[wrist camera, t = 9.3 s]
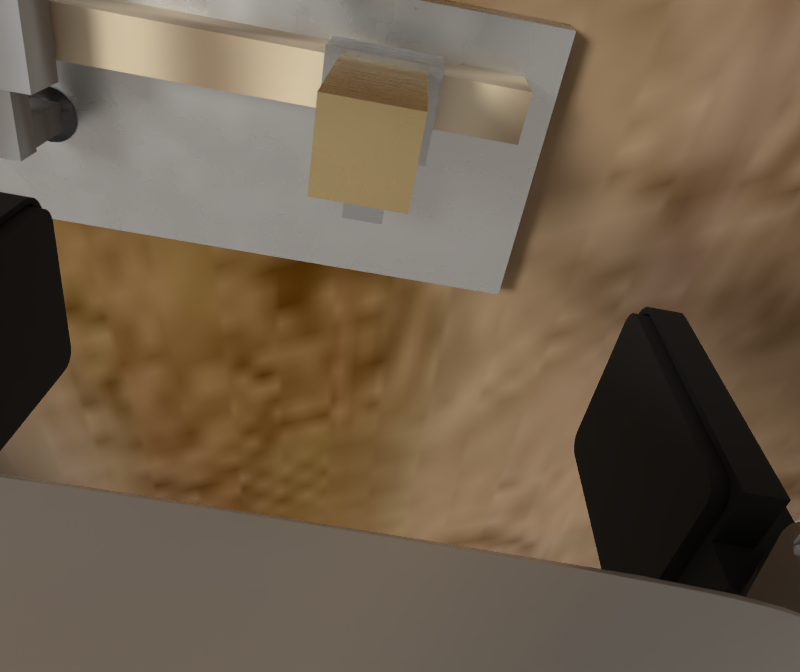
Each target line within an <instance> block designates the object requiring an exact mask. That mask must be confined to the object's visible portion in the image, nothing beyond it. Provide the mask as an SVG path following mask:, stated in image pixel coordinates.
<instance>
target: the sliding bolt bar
mask: <svg viewBox="0 0 800 672" xmlns="http://www.w3.org/2000/svg"><path fill="white" fill-rule="evenodd" d="M328 41H329V40H327V39H322V38H316V37H311V36H306V35H301V34H295V33H290V32H285V31H280V30H274V29H269V28H264V27H259V26H253V25H248V24H243V23H238V22H232V21H227V20H222V19H217V18H211V17H206V16H201V15H196V14H190V13H185V12H180V11H175V10H169V9H164V8H159V7H154V6H148V5H143V4H138V3H133V2H127V1H122V0H0V158H3V159H9V160H15V161H20V162H21V161H23V160H24V159H26V158H27V157H29V156H31V155H32V154H34V153H35V152H37V149H36V148H37V147H38V146H40V145H42V144H43V143H45V142H46V141H48V140H50V139H51V138H53V137H54V136H56V135H58V134H59V133H61V132H63V131H64V129H63V121H62V113H61V104H60V102H54V101H48V100H43V99H37V98H32V97H31V98H29V95H33V94H35V93H37V92H39V91H41V90H43V89H45V88H47V87H49V86H51V85H53V84H55V83H57V82H58V74H57V66H56V60H59V61H64V62H70V63H75V64H81V65H86V66H91V67H97V68H102V69H108V70H113V71H119V72H124V73H129V74H135V75H140V76H146V77H151V78H157V79H162V80H167V81H173V82H178V83H184V84H189V85H195V86H200V87H205V88H211V89H216V90H222V91H227V92H233V93H238V94H243V95H249V96H254V97H260V98H265V99H271V100H276V101H281V102H287V103H292V104H298V105H303V106H309V107H314V108H316V101H317V91H318V90H319V88H320V86H321V84H322V74H323V64H324V53H325V45H326V44H327V43H328ZM531 96H532V91H531V89H530V87H529V85H528V83H527V81H526V79H525V77H521V76H516V75H510V74H505V73H500V72H495V71H489V70H484V69H479V68H474V67H468V66H463V65H458V64H453V63H447V62H444V73H443V79H442V84H441V89H440V94H439V99H438V104H437V109H436V114H435V119H434V124H433V129H434V130H439V131H444V132H450V133H455V134H461V135H466V136H472V137H477V138H482V139H488V140H493V141H499V142H504V143H510V144H515V145H518V143H519V140H520V136H521V132H522V129H523V125H524V121H525V118H526V114H527V110H528V107H529V103H530V99H531Z"/></svg>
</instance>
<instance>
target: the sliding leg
mask: <svg viewBox="0 0 800 672" xmlns="http://www.w3.org/2000/svg"><path fill="white" fill-rule="evenodd" d="M443 73H444V56H439V55H434V54H429V53H424V52H418V51H413V50H408V49H403V48H397V47H392V46H387V45H382V44H376V43H371V42H366V41H361V40H355V39H350V38H345V37H340V36H335V35H333V36H332V37H331V39H330V40H329V41H328V43H327V44H326V45H325V53H324V64H323V74H322V84H321V86H320V88H319V90H318V91H317V101H316V111H315V122H314V133H313V143H312V154H311V164H310V175H309V185H308V196H307V197H313V198H319V199H325V200H330V201H336V202H342V203H343V211H342V218H347V219H353V220H358V221H364V222H370V223H376V224H381V225H382V220H383V214H384V210H387V211H393V212H398V213H404V214H408V213H409V208H410V202H411V197H412V192H413V187H414V181H415V176H416V171H417V166H418V165H420V166H425V165H426V160H427V155H428V150H429V145H430V140H431V134H432V129H433V124H434V119H435V114H436V109H437V104H438V99H439V94H440V89H441V84H442V79H443Z"/></svg>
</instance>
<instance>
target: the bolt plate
mask: <svg viewBox="0 0 800 672" xmlns="http://www.w3.org/2000/svg"><path fill="white" fill-rule="evenodd" d="M122 1H127V2H133V3H138V4H143V5H148V6H154V7H159V8H164V9H169V10H175V11H180V12H185V13H190V14H196V15H201V16H206V17H211V18H217V19H222V20H227V21H232V22H238V23H243V24H248V25H253V26H259V27H264V28H269V29H274V30H280V31H285V32H290V33H295V34H301V35H306V36H311V37H316V38H322V39H327V40H330V39H331V37H332V36H333V35H335V36H340V37H345V38H350V39H355V40H361V41H366V42H371V43H376V44H382V45H387V46H392V47H397V48H403V49H408V50H413V51H418V52H424V53H429V54H434V55H439V56H444V62H447V63H453V64H458V65H463V66H468V67H474V68H479V69H484V70H489V71H495V72H500V73H505V74H510V75H516V76H521V77H525V79H526V81H527V83H528V85H529V87H530V89H531V91H532V96H531V99H530V103H529V107H528V110H527V114H526V118H525V121H524V125H523V129H522V132H521V136H520V140H519V143H518V145H515V144H510V143H504V142H499V141H493V140H488V139H482V138H477V137H472V136H466V135H461V134H455V133H450V132H444V131H439V130H434V129H432V134H431V140H430V145H429V150H428V155H427V160H426V165H425V166H420V165H418V166H417V171H416V176H415V181H414V187H413V192H412V197H411V202H410V208H409V213H408V214H404V213H398V212H393V211H387V210H384V214H383V220H382V225H381V224H376V223H370V222H364V221H358V220H353V219H347V218H342V211H343V203H342V202H336V201H330V200H325V199H319V198H313V197H307V196H308V185H309V175H310V164H311V154H312V143H313V133H314V122H315V111H316V108H314V107H309V106H303V105H298V104H292V103H287V102H281V101H276V100H271V99H265V98H260V97H254V96H249V95H243V94H238V93H233V92H227V91H222V90H216V89H211V88H205V87H200V86H195V85H189V84H184V83H178V82H173V81H167V80H162V79H157V78H151V77H146V76H140V75H135V74H129V73H124V72H119V71H113V70H108V69H102V68H97V67H91V66H86V65H81V64H75V63H70V62H64V61H59V60H56V66H57V74H58V82H57V83H55V84H53V85H51V86H49V87H47V88H45V89H43V90H41V91H39V92H37V93H35V94H33V95H29V98H31V97H32V98H37V99H43V100H48V101H54V102H60V104H61V113H62V121H63V129H64V131H63V132H61V133H59V134H58V135H56V136H54V137H53V138H51V139H50V140H48V141H46V142H45V143H43V144H42V145H40V146H38V147H37V148H36V149H37V152H35V153H34V154H32V155H31V156H29V157H27V158H26V159H24V160H23V161H21V162H20V161H15V160H9V159H3V158H0V192H4V193H9V194H15V195H21V196H26V197H32V198H35V199H36V200H38V201H39V203H40V205H41V207H42V209H47V210H48V211H49V212H50V214H51V216H52V219H57V220H63V221H69V222H75V223H81V224H87V225H92V226H98V227H104V228H110V229H116V230H122V231H128V232H134V233H140V234H145V235H151V236H157V237H163V238H169V239H175V240H181V241H187V242H192V243H198V244H204V245H210V246H216V247H222V248H228V249H234V250H240V251H245V252H251V253H257V254H263V255H269V256H275V257H281V258H287V259H293V260H298V261H304V262H310V263H316V264H322V265H328V266H334V267H340V268H346V269H351V270H357V271H363V272H369V273H375V274H381V275H387V276H393V277H398V278H404V279H410V280H416V281H422V282H428V283H434V284H440V285H446V286H451V287H457V288H463V289H469V290H475V291H481V292H487V293H493V294H499V291H500V288H501V284H502V281H503V278H504V274H505V271H506V267H507V264H508V261H509V257H510V254H511V250H512V247H513V244H514V240H515V237H516V234H517V230H518V227H519V223H520V220H521V217H522V213H523V210H524V206H525V203H526V200H527V196H528V193H529V190H530V186H531V183H532V179H533V176H534V173H535V169H536V166H537V162H538V159H539V156H540V152H541V149H542V145H543V142H544V139H545V135H546V132H547V129H548V125H549V122H550V118H551V115H552V112H553V108H554V105H555V101H556V98H557V95H558V91H559V88H560V85H561V81H562V78H563V74H564V71H565V68H566V64H567V61H568V57H569V54H570V51H571V47H572V44H573V40H574V37H575V34H576V30H575V29H574V28H573V27H571V26H570V25H568V24H563V23H558V22H553V21H548V20H543V19H538V18H533V17H527V16H522V15H517V14H512V13H507V12H502V11H497V10H492V9H487V8H482V7H477V6H471V5H466V4H461V3H456V2H451V1H446V0H122Z"/></svg>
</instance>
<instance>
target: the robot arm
mask: <svg viewBox="0 0 800 672" xmlns="http://www.w3.org/2000/svg"><path fill="white" fill-rule="evenodd" d="M70 356H71V345H70V338H69V331H68V324H67V317H66V310H65V303H64V296H63V289H62V282H61V275H60V268H59V261H58V254H57V247H56V240H55V233H54V226H53V220H52V216H51V214H50V212H49V211H48V210H47V209H42V207H41V205H40V203H39V201H38V200H36V199H35V198H32V197H26V196H21V195H15V194H9V193H4V192H0V451H1V449H2V448H3V447H4V446H5V444H6V443H7V442H8V441H9V439H10V438H11V437H12V436H13V434H14V433H15V432H16V431H17V429H18V428H19V427H20V426H21V424H22V423H23V422H24V421H25V419H26V418H27V417H28V416H29V414H30V413H31V412H32V411H33V409H34V408H35V407H36V406H37V404H38V403H39V402H40V401H41V399H42V398H43V397H44V396H45V394H46V393H47V392H48V391H49V390H50V388H51V387H52V386H53V385H54V383H55V382H56V381H57V380H58V378H59V377H60V376H61V375H62V373H63V372H64V371H65V369H66V368H67V366H68V363H69V360H70ZM574 453H575V458H576V462H577V467H578V471H579V475H580V479H581V484H582V488H583V492H584V496H585V501H586V505H587V509H588V513H589V518H590V522H591V526H592V530H593V535H594V539H595V543H596V547H597V552H598V556H599V560H600V565H601V569H597V568H591V567H585V566H579V565H573V564H567V563H561V562H555V561H549V560H543V559H537V558H531V557H525V556H518V555H512V554H506V553H500V552H494V551H488V550H482V549H475V548H469V547H463V546H457V545H451V544H445V543H439V542H433V541H426V540H420V539H414V538H408V537H402V536H396V535H390V534H384V533H377V532H371V531H365V530H359V529H352V528H346V527H340V526H333V525H327V524H321V523H314V522H308V521H302V520H296V519H289V518H283V517H277V516H270V515H264V514H258V513H251V512H245V511H238V510H232V509H226V508H219V507H213V506H207V505H200V504H194V503H187V502H181V501H175V500H168V499H162V498H155V497H149V496H143V495H136V494H129V493H123V492H116V491H110V490H103V489H97V488H90V487H83V486H77V485H70V484H64V483H57V482H50V481H44V480H37V479H31V478H24V477H18V476H11V475H4V474H0V672H800V522H797V523H795V522H794V521H793V519H792V517H791V515H790V514H789V512H788V510H787V508H786V506H787V505H788V503H789V502H790V501H791V500H790V498H789V496H788V495H787V493H786V491H785V489H784V488H783V486H782V484H781V483H780V481H779V479H778V477H777V476H776V474H775V472H774V470H773V469H772V467H771V465H770V463H769V462H768V460H767V458H766V456H765V455H764V453H763V451H762V450H761V448H760V446H759V444H758V443H757V441H756V439H755V437H754V436H753V434H752V432H751V430H750V429H749V427H748V425H747V423H746V422H745V420H744V418H743V417H742V415H741V413H740V411H739V410H738V408H737V406H736V404H735V403H734V401H733V399H732V397H731V396H730V394H729V392H728V390H727V389H726V387H725V385H724V384H723V382H722V380H721V378H720V377H719V375H718V373H717V371H716V370H715V368H714V366H713V364H712V363H711V361H710V359H709V357H708V356H707V354H706V352H705V351H704V349H703V347H702V345H701V344H700V342H699V340H698V338H697V337H696V335H695V333H694V331H693V330H692V328H691V326H690V324H689V323H688V321H687V319H686V318H685V316H684V315H683V314H682V313H678V312H673V311H667V310H662V309H656V308H650V307H645V308H643V309H642V310H641V312H640V313H639V314H634V313H632V314H630V315H629V317H628V318H627V320H626V322H625V324H624V326H623V328H622V331H621V333H620V335H619V338H618V340H617V342H616V344H615V347H614V349H613V351H612V354H611V356H610V358H609V360H608V363H607V365H606V367H605V370H604V372H603V374H602V376H601V379H600V381H599V383H598V386H597V388H596V390H595V392H594V395H593V397H592V399H591V402H590V404H589V406H588V409H587V411H586V413H585V415H584V418H583V420H582V422H581V425H580V427H579V429H578V431H577V434H576V438H575V444H574Z"/></svg>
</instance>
